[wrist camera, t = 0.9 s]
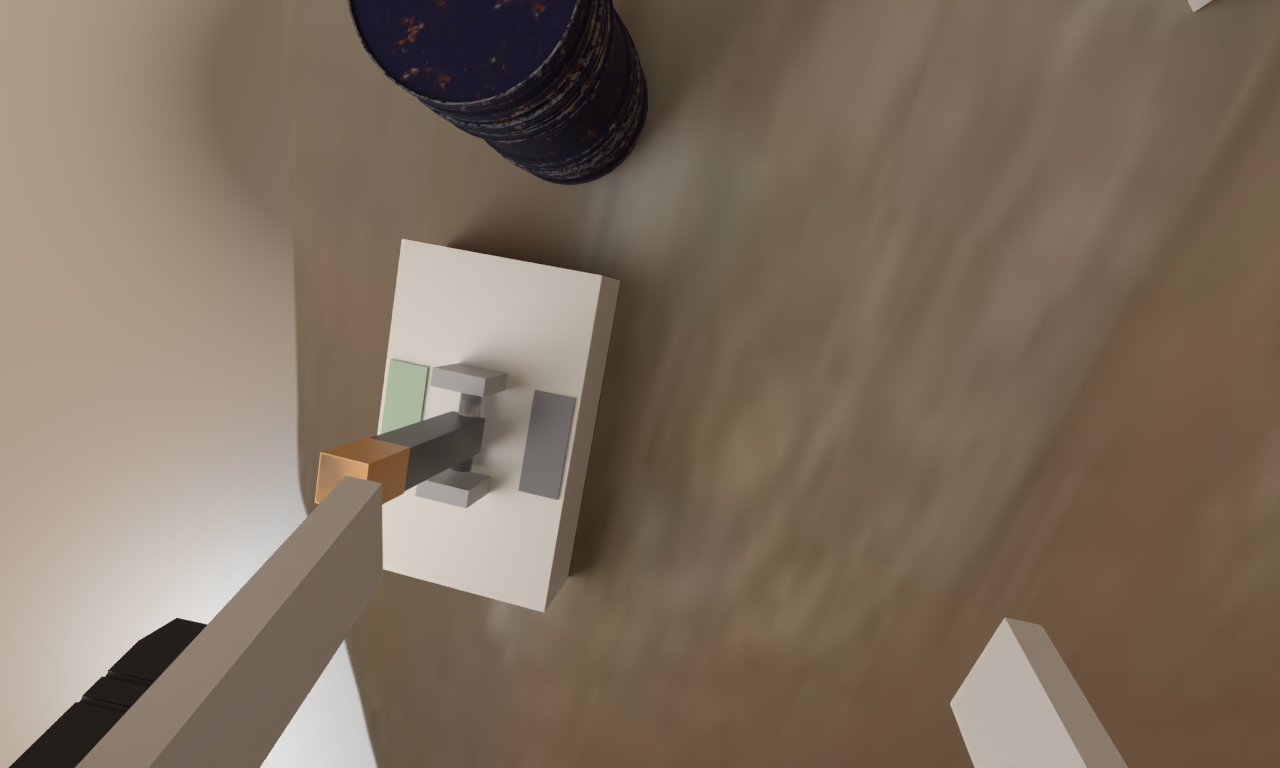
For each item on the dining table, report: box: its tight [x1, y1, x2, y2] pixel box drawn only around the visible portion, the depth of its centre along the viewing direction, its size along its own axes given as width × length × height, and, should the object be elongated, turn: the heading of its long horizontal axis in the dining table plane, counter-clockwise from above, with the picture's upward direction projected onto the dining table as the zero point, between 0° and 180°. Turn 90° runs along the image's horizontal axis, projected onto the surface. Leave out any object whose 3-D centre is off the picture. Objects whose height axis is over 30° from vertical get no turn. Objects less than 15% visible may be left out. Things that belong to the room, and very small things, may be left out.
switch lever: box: [315, 393, 485, 505], centre depth 30 cm, size 4×2×12 cm, turn 169°
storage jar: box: [348, 0, 648, 185], centre depth 31 cm, size 10×10×15 cm
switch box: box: [377, 239, 620, 612], centre depth 37 cm, size 20×12×8 cm, turn 169°
